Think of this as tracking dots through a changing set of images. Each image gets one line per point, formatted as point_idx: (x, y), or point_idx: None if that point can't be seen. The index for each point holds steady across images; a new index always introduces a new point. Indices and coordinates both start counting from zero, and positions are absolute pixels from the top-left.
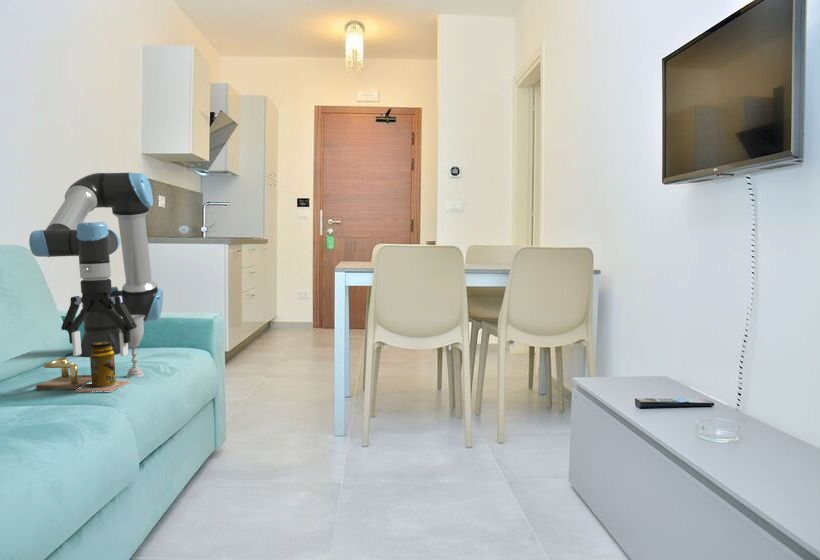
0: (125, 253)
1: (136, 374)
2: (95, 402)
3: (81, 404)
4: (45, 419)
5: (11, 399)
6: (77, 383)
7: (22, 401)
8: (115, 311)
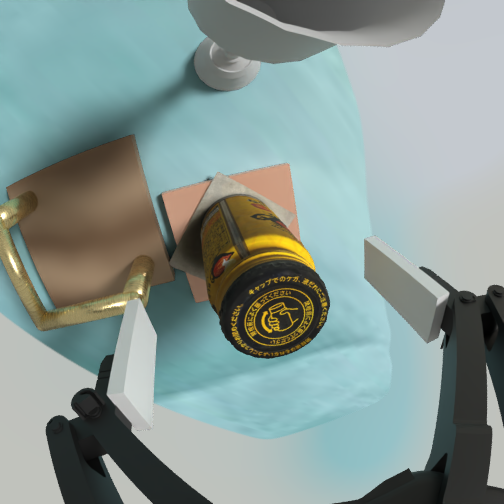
0: None
1: (249, 74)
2: (322, 338)
3: (301, 356)
4: (300, 414)
5: None
6: (154, 264)
7: None
8: (483, 419)
